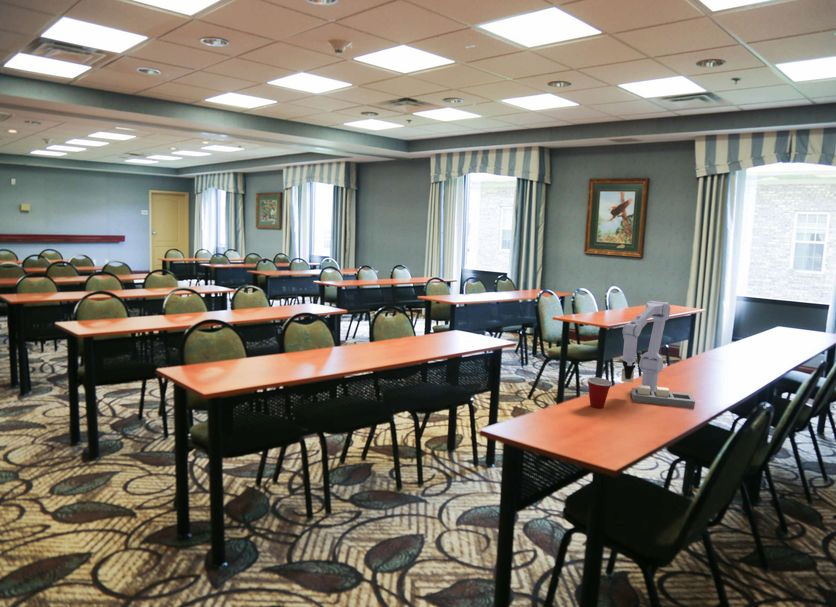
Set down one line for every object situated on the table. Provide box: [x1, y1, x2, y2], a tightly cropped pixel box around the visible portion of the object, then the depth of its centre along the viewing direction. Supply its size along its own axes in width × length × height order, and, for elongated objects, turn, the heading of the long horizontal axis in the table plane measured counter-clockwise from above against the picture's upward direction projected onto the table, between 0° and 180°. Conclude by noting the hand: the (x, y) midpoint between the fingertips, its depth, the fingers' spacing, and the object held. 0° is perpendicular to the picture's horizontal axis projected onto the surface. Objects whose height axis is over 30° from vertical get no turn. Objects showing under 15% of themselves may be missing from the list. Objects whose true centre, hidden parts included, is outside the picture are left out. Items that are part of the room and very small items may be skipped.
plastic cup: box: [586, 376, 613, 409], centre depth 267 cm, size 11×11×12 cm
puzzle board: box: [630, 384, 696, 409], centre depth 280 cm, size 13×26×6 cm, turn 74°
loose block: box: [620, 368, 635, 383], centre depth 283 cm, size 5×5×5 cm
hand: (627, 377), depth 283 cm, fingers closed on loose block, 5 cm apart
